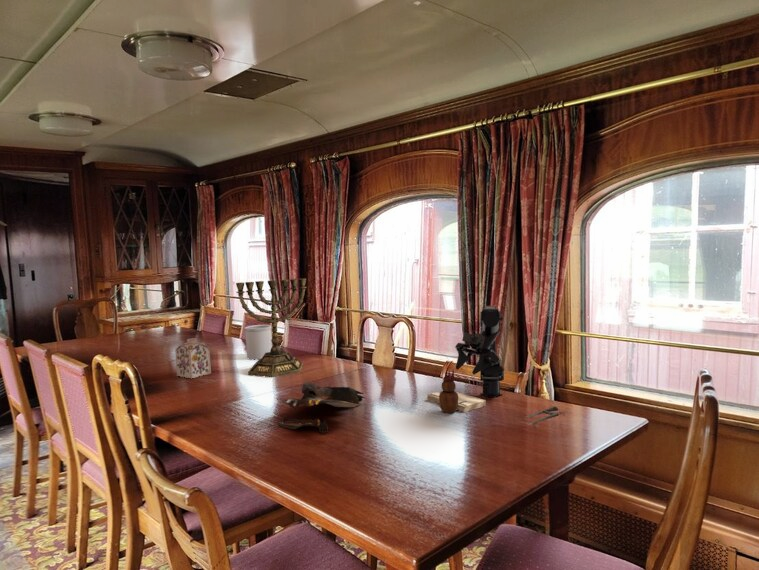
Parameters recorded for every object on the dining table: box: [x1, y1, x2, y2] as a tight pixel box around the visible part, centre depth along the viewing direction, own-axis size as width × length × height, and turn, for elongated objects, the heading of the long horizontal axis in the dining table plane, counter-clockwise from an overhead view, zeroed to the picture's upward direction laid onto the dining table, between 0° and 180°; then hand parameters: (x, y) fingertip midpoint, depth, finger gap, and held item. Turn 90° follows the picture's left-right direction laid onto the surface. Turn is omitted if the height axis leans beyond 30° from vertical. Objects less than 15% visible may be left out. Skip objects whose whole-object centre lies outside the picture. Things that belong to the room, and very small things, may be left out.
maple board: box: [426, 390, 487, 413], centre depth 192 cm, size 11×20×2 cm, turn 36°
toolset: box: [278, 381, 366, 435], centre depth 184 cm, size 40×20×27 cm
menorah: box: [235, 278, 307, 378], centre depth 252 cm, size 36×25×45 cm
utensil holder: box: [243, 324, 273, 360], centre depth 286 cm, size 15×15×18 cm
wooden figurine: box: [439, 370, 458, 414], centre depth 182 cm, size 7×6×15 cm
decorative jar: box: [174, 337, 212, 380], centre depth 248 cm, size 12×12×18 cm
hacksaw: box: [518, 406, 566, 431], centre depth 172 cm, size 24×10×2 cm, turn 122°
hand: (464, 371), depth 185 cm, fingers open, 9 cm apart
